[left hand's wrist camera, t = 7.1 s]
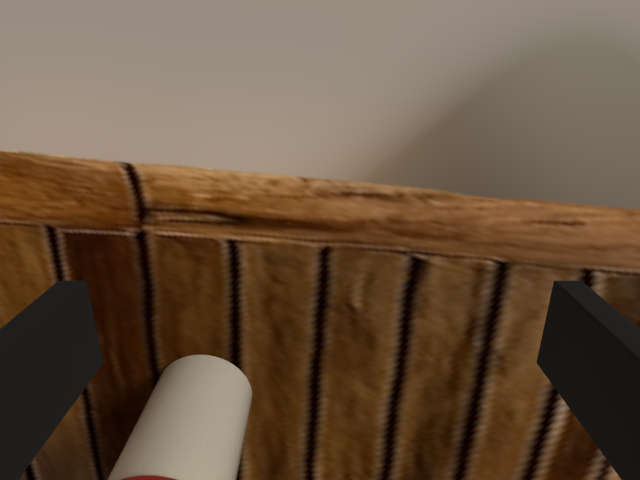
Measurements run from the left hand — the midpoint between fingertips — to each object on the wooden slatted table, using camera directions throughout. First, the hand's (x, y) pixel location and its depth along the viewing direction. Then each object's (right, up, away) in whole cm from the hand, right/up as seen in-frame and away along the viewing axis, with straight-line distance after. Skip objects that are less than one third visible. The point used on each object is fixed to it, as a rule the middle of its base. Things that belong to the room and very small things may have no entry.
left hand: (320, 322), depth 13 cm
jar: (-12, -14, +36) cm, 40 cm away
